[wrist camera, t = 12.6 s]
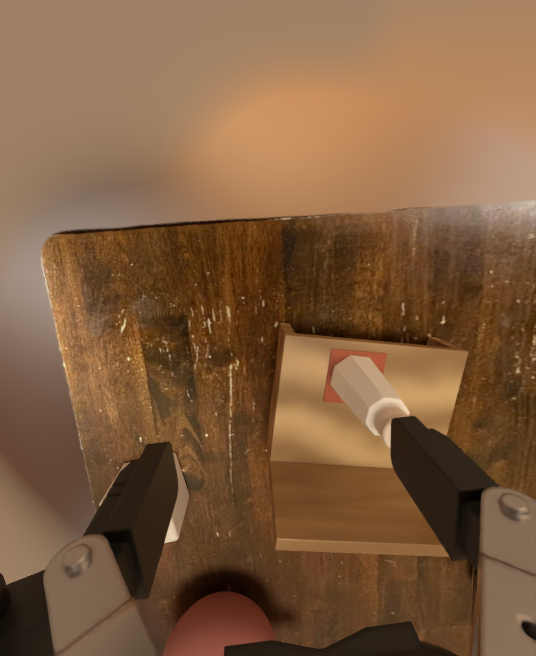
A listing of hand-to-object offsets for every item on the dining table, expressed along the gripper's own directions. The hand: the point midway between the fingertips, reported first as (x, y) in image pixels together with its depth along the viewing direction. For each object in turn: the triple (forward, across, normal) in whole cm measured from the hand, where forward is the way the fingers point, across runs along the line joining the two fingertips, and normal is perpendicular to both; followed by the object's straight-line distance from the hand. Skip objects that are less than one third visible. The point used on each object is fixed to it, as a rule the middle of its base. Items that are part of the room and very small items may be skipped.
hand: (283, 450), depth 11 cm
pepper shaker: (+21, -9, +7) cm, 24 cm away
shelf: (+27, -11, +12) cm, 31 cm away
